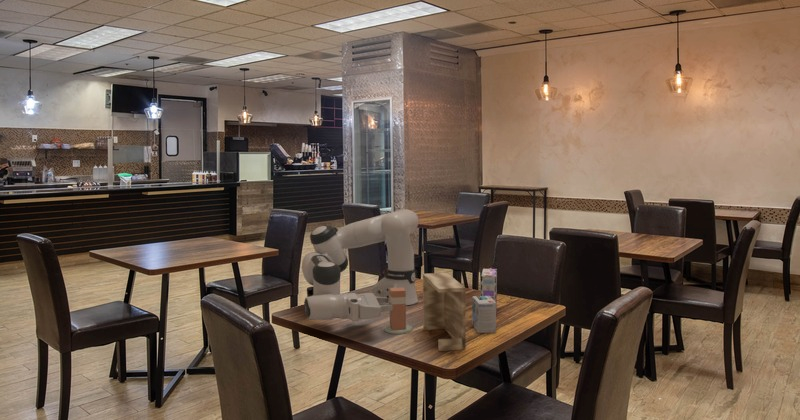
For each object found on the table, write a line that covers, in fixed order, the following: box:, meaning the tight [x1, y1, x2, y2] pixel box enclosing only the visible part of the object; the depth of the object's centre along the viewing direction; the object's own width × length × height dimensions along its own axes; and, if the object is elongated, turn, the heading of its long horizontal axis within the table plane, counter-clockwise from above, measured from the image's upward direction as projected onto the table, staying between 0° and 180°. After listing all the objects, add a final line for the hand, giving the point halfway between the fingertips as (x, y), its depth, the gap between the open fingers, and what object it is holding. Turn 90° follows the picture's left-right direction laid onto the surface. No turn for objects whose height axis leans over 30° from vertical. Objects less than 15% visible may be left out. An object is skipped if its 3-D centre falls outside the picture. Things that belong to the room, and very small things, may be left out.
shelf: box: [422, 272, 467, 352], centre depth 193 cm, size 9×23×20 cm, turn 10°
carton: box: [389, 287, 407, 330], centre depth 203 cm, size 5×5×14 cm
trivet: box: [383, 323, 413, 335], centre depth 204 cm, size 10×10×1 cm
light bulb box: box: [471, 295, 497, 334], centre depth 204 cm, size 11×7×11 cm, turn 5°
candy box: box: [480, 268, 498, 310], centre depth 224 cm, size 14×6×16 cm, turn 168°
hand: (390, 303), depth 202 cm, fingers open, 8 cm apart
